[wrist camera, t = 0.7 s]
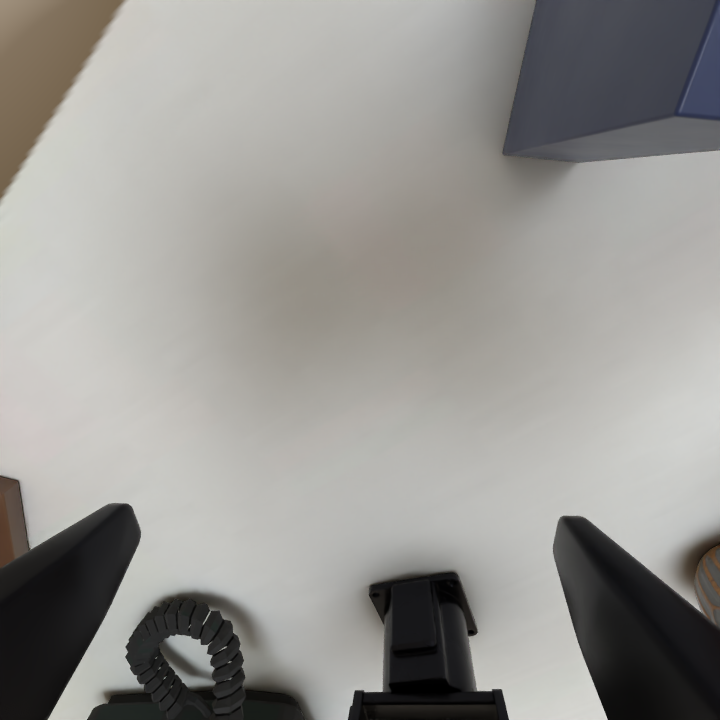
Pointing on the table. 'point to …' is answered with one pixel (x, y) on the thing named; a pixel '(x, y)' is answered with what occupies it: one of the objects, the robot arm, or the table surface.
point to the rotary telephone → (177, 705)
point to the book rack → (11, 522)
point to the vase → (709, 585)
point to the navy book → (618, 80)
